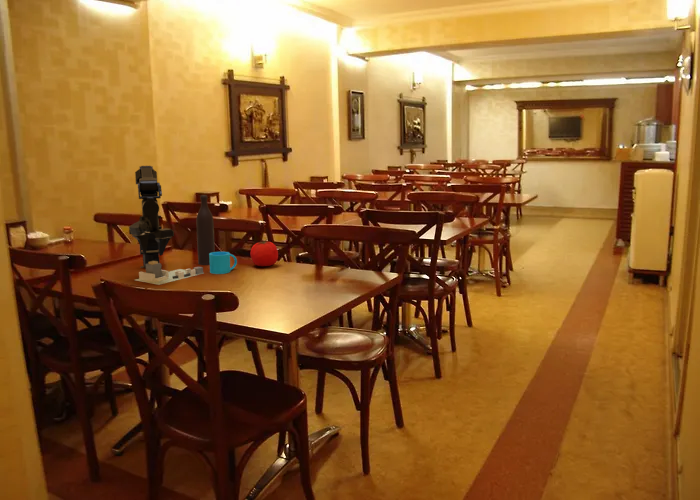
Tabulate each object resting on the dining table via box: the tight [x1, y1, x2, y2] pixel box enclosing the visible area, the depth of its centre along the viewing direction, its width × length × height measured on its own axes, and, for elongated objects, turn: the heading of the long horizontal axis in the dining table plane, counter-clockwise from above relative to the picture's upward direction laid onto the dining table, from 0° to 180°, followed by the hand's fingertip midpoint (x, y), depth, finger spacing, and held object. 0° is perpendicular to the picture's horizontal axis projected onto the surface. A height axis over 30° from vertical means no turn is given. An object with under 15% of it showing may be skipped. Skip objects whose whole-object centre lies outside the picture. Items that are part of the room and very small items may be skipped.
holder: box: [138, 269, 169, 282], centre depth 227 cm, size 9×7×3 cm
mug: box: [209, 251, 238, 275], centre depth 241 cm, size 12×8×8 cm
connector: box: [145, 261, 162, 278], centre depth 227 cm, size 4×4×7 cm
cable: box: [173, 273, 190, 279], centre depth 232 cm, size 2×10×1 cm, turn 148°
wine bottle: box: [195, 194, 216, 266], centre depth 254 cm, size 7×7×30 cm
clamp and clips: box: [175, 266, 204, 280], centre depth 233 cm, size 4×12×2 cm, turn 148°
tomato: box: [249, 240, 279, 267], centre depth 253 cm, size 12×12×11 cm
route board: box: [134, 268, 204, 286], centre depth 232 cm, size 14×23×1 cm, turn 148°
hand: (152, 254), depth 225 cm, fingers open, 9 cm apart
